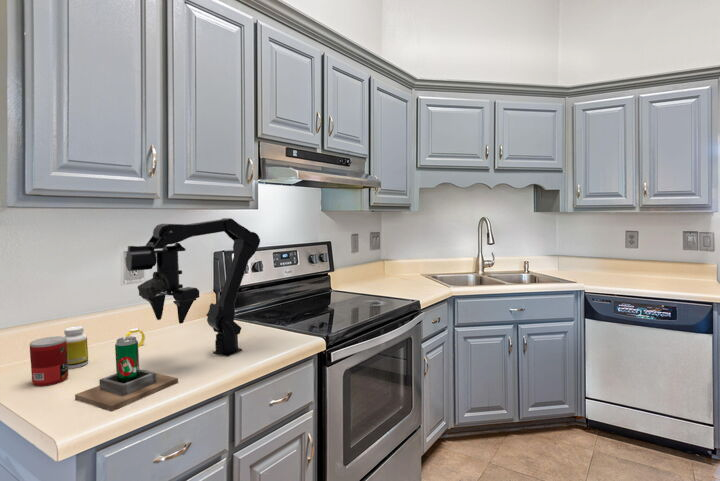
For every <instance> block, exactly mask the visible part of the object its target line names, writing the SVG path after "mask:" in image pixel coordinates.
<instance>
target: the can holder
mask: <svg viewBox="0 0 720 481" xmlns="http://www.w3.org/2000/svg"><path fill="white" fill-rule="evenodd" d="M139 372H140V378H138V379H135V380H132V381H130V382H127V383H125V384H123V383H120V382H117V373H114V374H111V375H109V376H105V377H103V378H100V379H99V380H98V382H99V385H97V386H94V387H91V388H89V389H86V390H84V391H80V392H78V393H75V394H74V398H75V400H76V401H79V402H82V403H86V404H88V405H91V406H94V407H97V408H101V409H105V410H107V411H111V412H113V411H116V410H118V409H120V408H123V407H125V406H127V404H128V405H130V404H132V403H135V402H137V401H139V400H141V399H143V397H144V398H146V397H149V396H151V395H153V394H155V393H158V392H159V391H160V392H161V391H162V390H165V389H167V388H169V387H171V386H174V385H176V384H178V383H179V378H178V377H174V376H170V375H167V374H162V373H158V372H154V371H149V370H145V369H141V368H139Z"/></svg>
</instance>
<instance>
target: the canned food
mask: <svg viewBox="0 0 720 481" xmlns="http://www.w3.org/2000/svg"><path fill="white" fill-rule="evenodd" d="M29 358H30V359H29V360H30V371H31V383H32V384H33V385H34V386H36V387H45V386H46V387H47V386H53V385H57V384H60V383H62V382H64V381H66V380H68V377H69V368H68V358H67V342H66V338H65V336H61V335H60V336H47V337H42V338H38V339H34V340H32V341H30V343H29Z"/></svg>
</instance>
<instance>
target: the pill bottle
mask: <svg viewBox="0 0 720 481" xmlns="http://www.w3.org/2000/svg"><path fill="white" fill-rule="evenodd" d="M84 331H85V330H84V327H83V326H80V325H79V326H78V325H77V326H71V327H67V328H64V332H63V333H64V337H65V338H66V342H67V358H68V369H76V368H80V367H85V366H86V365H87V364H88V363H89V351H88V350H89V348H88V336H87V335H86V334H85V333H84Z"/></svg>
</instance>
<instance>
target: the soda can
mask: <svg viewBox="0 0 720 481" xmlns="http://www.w3.org/2000/svg"><path fill="white" fill-rule="evenodd" d="M138 344H139V341H138V339H137V337H136V336H129V337H126V336H124V337H123V336H122V337H120V338H117V339H116V342H115V344H114V348H115V349H114V350H115V352H114V353H115V368H116V369H115V371H116V373H117V382H120V383H123V384H125V383H127V382H130V381H132V380H135V379H138V378H140V372H139V369H140V354H139V346H138ZM116 373H115V374H116Z"/></svg>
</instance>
